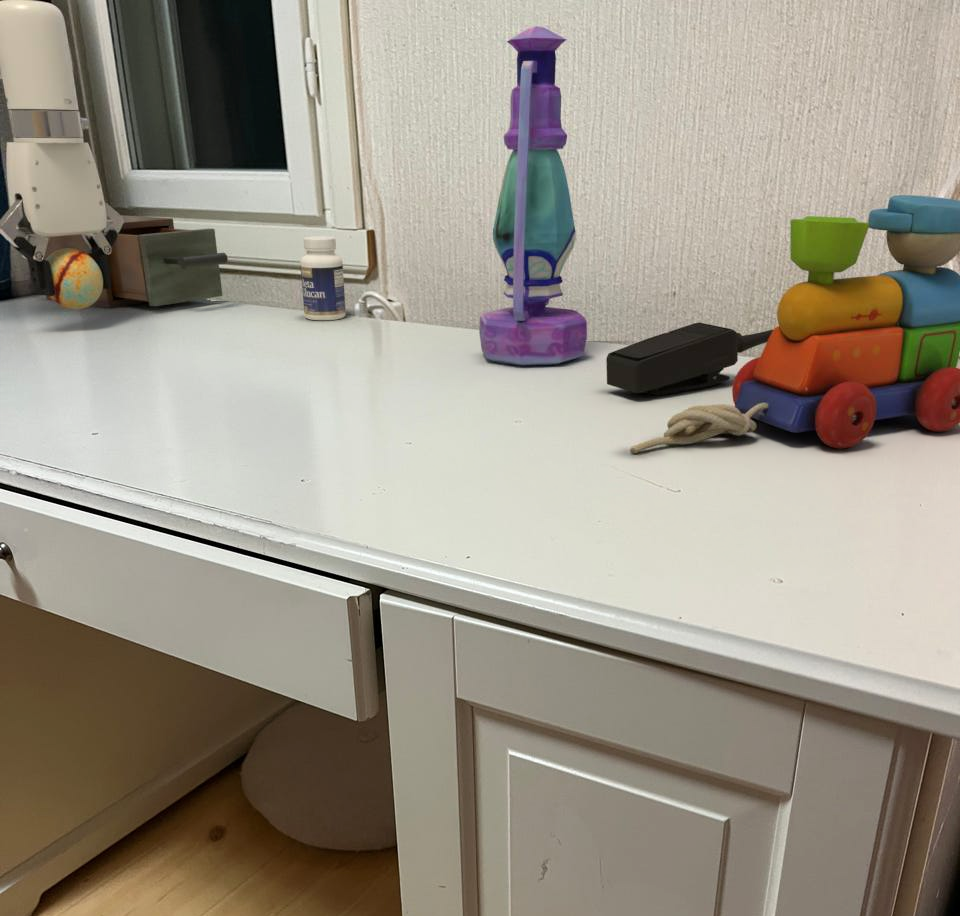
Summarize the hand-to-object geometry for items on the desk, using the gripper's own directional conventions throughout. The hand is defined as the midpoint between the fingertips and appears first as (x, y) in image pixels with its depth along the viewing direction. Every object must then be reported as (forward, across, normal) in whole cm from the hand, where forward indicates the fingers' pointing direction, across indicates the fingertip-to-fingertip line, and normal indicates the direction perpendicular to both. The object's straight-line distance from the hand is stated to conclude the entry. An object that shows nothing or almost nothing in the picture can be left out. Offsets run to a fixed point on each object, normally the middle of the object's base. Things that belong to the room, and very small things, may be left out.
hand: (74, 290), depth 121 cm
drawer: (+4, -18, -7) cm, 20 cm away
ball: (+2, 0, 0) cm, 2 cm away
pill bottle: (+4, -23, +20) cm, 31 cm away
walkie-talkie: (+3, -16, +77) cm, 78 cm away
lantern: (+3, -17, +57) cm, 59 cm away
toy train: (+3, -6, +91) cm, 91 cm away
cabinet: (+5, -18, -19) cm, 27 cm away
